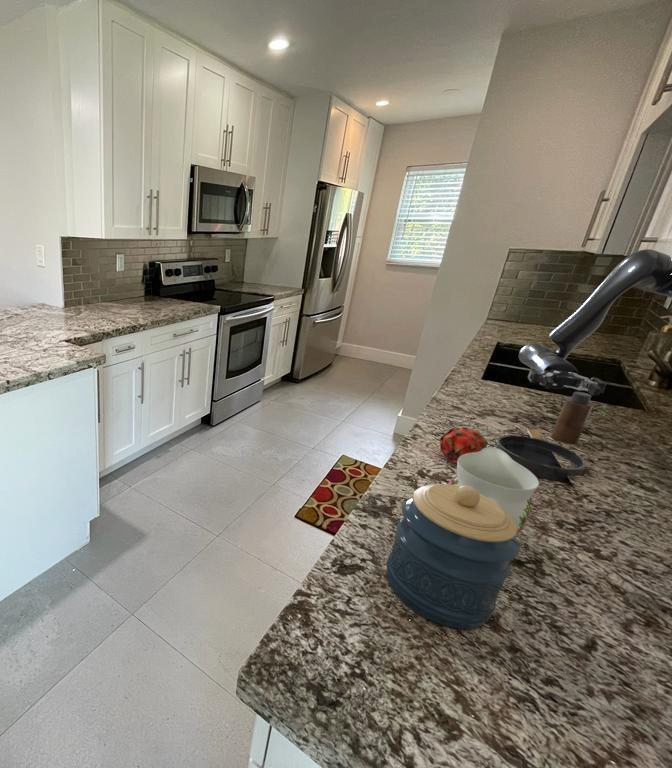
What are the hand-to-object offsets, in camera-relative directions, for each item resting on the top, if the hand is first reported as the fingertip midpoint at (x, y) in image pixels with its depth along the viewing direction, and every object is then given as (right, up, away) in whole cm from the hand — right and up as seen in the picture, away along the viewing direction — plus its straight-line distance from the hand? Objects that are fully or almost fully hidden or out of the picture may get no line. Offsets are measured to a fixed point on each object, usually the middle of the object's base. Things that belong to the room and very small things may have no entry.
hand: (573, 388), depth 102 cm
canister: (-64, -29, -43) cm, 82 cm away
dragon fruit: (-35, -17, -9) cm, 40 cm away
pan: (-18, -17, -9) cm, 27 cm away
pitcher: (-51, -25, -33) cm, 65 cm away
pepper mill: (-4, -13, -1) cm, 14 cm away
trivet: (-4, -14, -1) cm, 15 cm away
